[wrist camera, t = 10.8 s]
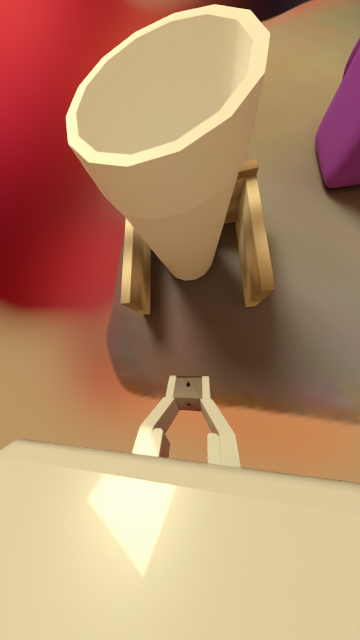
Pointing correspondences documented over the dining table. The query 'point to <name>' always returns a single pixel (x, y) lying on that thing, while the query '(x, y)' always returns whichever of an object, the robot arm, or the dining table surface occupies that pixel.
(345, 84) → the toy camera
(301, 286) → the dining table surface
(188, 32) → the foam cup
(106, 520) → the robot arm
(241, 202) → the cup holder
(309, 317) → the dining table surface
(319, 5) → the dining table surface
